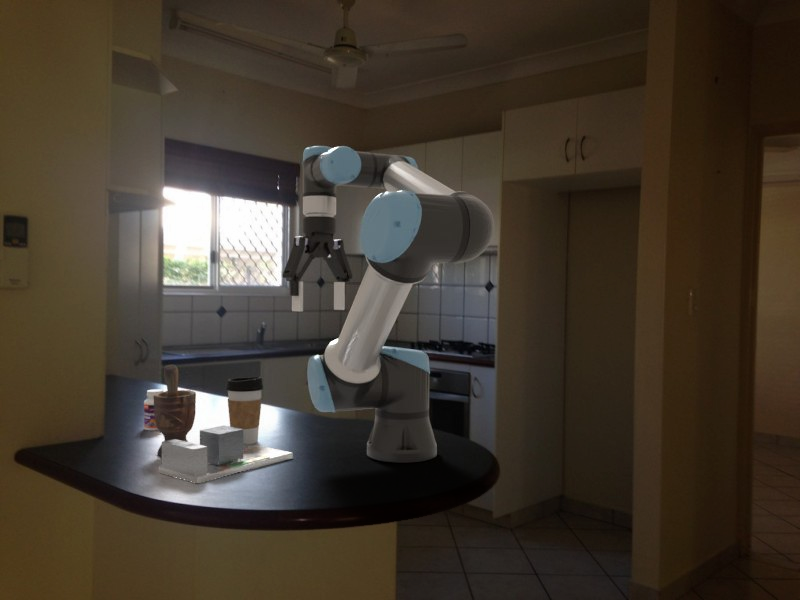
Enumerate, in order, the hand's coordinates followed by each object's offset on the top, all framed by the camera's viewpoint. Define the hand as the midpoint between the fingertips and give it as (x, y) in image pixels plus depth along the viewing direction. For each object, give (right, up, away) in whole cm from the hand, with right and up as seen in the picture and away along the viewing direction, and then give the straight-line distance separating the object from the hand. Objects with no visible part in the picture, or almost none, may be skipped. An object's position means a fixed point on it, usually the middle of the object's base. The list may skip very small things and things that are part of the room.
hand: (319, 310), depth 157 cm
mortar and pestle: (-29, -31, -9) cm, 44 cm away
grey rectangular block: (-16, -30, -19) cm, 39 cm away
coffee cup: (-18, -31, +4) cm, 36 cm away
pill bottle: (-43, -30, +18) cm, 56 cm away
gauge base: (-16, -31, -17) cm, 39 cm away
